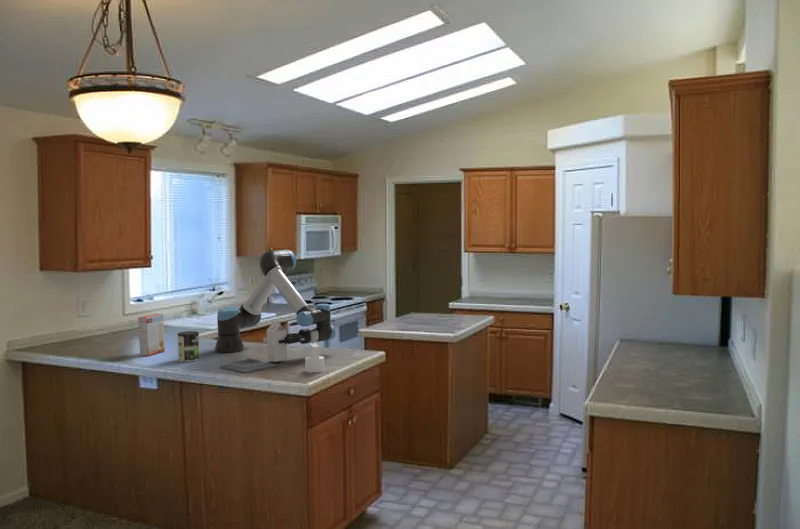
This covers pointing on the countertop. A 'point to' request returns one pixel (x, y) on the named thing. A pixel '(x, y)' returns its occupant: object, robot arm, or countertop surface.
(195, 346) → the coffee can
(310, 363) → the base with upright slab
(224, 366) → the board
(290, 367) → the countertop surface
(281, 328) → the milk carton
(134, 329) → the countertop surface
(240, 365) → the dock collar
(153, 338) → the cracker box
